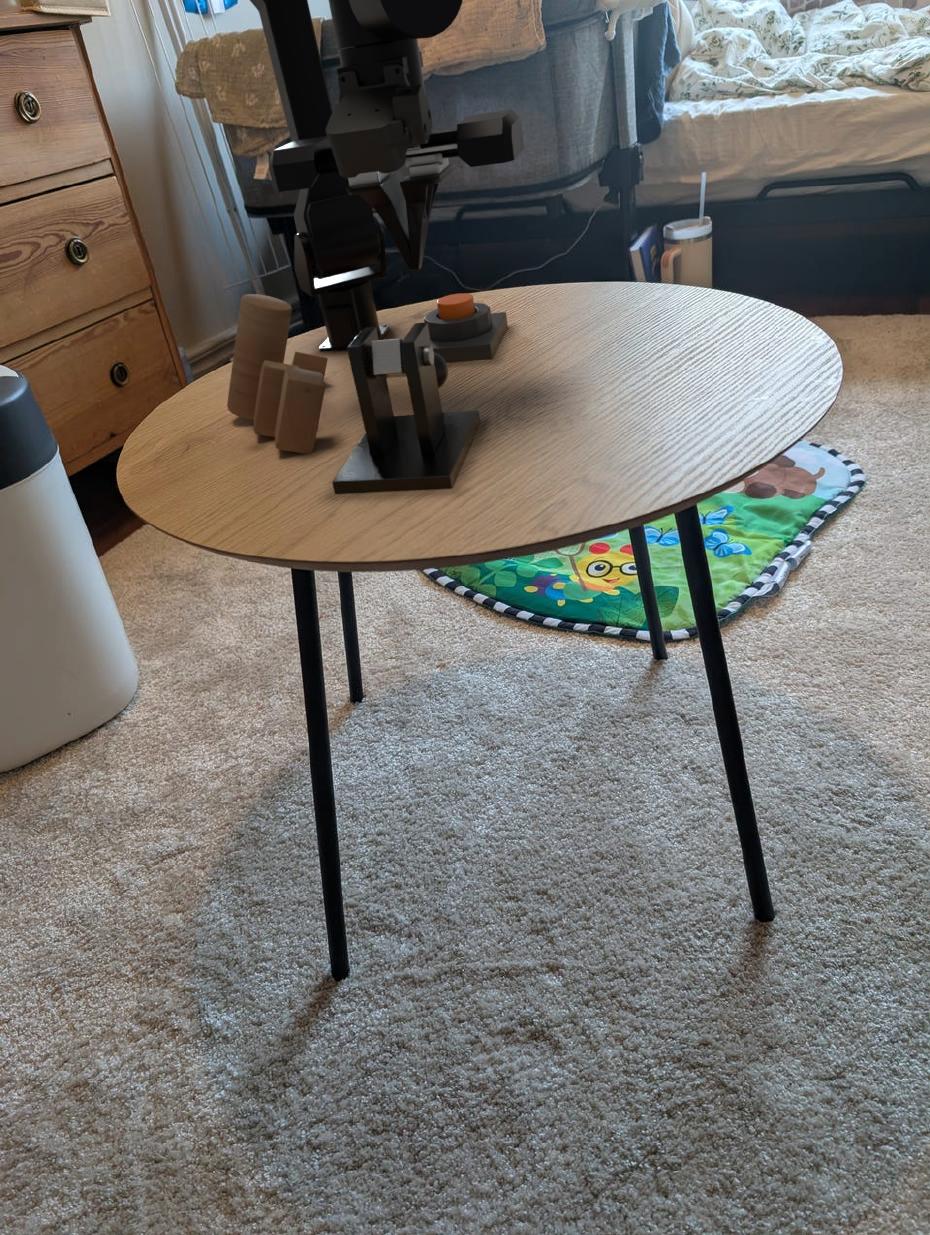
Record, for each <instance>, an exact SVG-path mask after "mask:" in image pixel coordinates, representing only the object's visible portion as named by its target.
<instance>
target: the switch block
mask: <svg viewBox="0 0 930 1235" xmlns="http://www.w3.org/2000/svg"><path fill="white" fill-rule="evenodd" d="M474 308H475V313H474V314H472V315H470V316H468V317H464V318H460V319H452V320H444V319H440V318H439V312H438V308H436V309H433V310H431V311H430V312H427V313H426V314H425V316H424V318H423V323H424V322H427V324H428V330H429V336H430V341H431V346H432V348H433V352H434V353H437V354H439V355H440V356H441V357H442V358H443V359H444V360H445V362H446V364H449V363H461V362H475V361H485V360H492V359H493V358H494V357H495V354H496V352H497V350H498V348H499V346H500V344H501V342H502V339H503V337H504V335H505V334H506V332H507V330H508V328H509V327H508V326H509V325H508V317H507V311H502V312H491V307H490V306H489V305H487V304H485V303H483V302H482V303H481V302H474Z"/></svg>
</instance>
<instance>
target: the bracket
mask: <svg viewBox="0 0 930 1235" xmlns="http://www.w3.org/2000/svg"><path fill="white" fill-rule="evenodd" d="M376 340H378V335H377V330H376V327H369V328H363V330H362V331H361V332H360V333H359V334H358V335H357V337H356V338H355V339H354V340H353V341H352V342H351V343H350V345H349V346H348V347H347V350H346V351H347V355H348V359H349V364H350V368H351V373H352V378H353V381H354V386H355V391H356V395H357V400H358V405H359V408H360V413H361V417H362V422H363V428H364V434H363V435H362V436H361V438H360V440H359V441H358V442H357V443H356V445H355V447H354V448H353V450H352V451H351V453H350V455H349V456H348V457H347V459H346V461H345V462H344V463H343V465H342V467H341V468H340V470H339V471H338V473H337V474H336V476H335V477H334V479H333V480H332V482H331V484H332V487H333V491H334V494H335V495H341V494H343V495H344V494H364V493H365V494H366V493H385V492H386V493H387V492H405V491H406V492H407V491H408V492H409V491H426V490H427V491H431V490H449V489H452V488H454V487H453V486H454V485H455V482H456V480H457V477H458V475H459V472H460V471H461V469H462V465H463V463H464V461H465V458H466V456H467V454H468V452H469V449H470V447H471V444H472V442H473V440H474V437H475V435H476V433H477V430H478V428H479V425H480V423H481V417H480V411H479V410H478V409H477V410H465V411H451V412H443V406H442V402H441V401H442V400H441V396H440V390H439V389H440V388H438V383H437V377H436V371H435V365H434V352H433V348H432V346H431V341H430V336H429V330H428V324H427V322H424V321H423V322H416V323H414V324H413V325H412V327H411V328H410V329H409V331H408V332H407V334H406V335H405V336H404V338H403V339H402V340H403V341H402V342H401V349H402V354H403V359H404V364H405V370H406V375H407V377H406V378H407V379H406V380H407V385H408V389H409V396H410V400H411V401H410V402H411V406H412V412H413V414H404V415H403V414H402V415H394V408H393V404H392V400H391V395H390V390H389V385H388V384H389V383H388V380H387V379H388V378H384V377H380V376H376V375H374V374H373V360H372V345H371V341H376Z"/></svg>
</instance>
